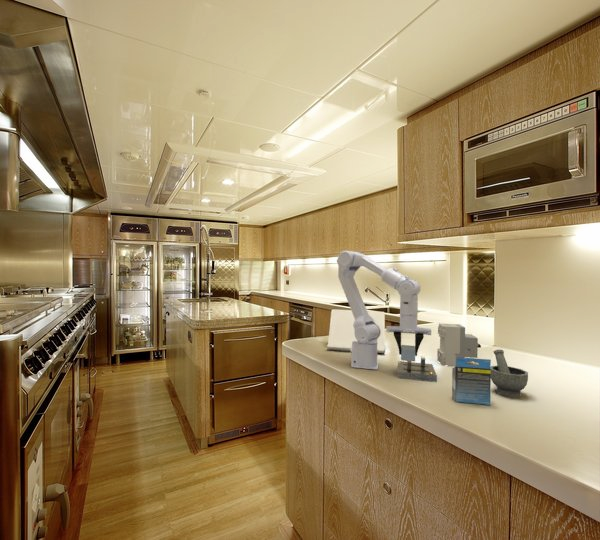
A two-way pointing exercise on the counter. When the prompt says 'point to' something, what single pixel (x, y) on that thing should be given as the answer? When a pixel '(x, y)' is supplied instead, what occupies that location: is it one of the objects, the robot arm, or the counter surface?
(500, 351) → the mortar and pestle
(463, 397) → the label tape cartridge
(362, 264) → the robot arm
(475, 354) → the circuit breaker
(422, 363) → the plain lever
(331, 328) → the tablet stand
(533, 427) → the counter surface
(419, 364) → the panel
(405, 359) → the cap
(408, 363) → the tagged lever
